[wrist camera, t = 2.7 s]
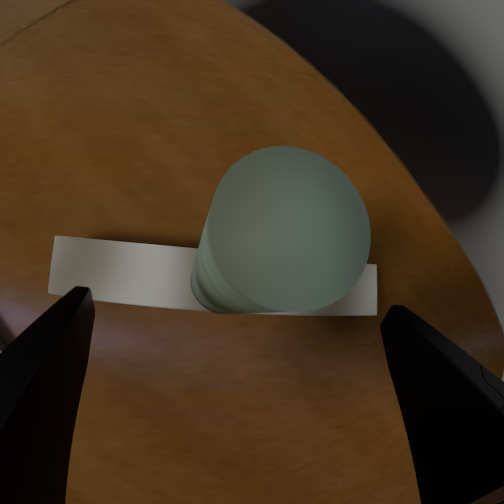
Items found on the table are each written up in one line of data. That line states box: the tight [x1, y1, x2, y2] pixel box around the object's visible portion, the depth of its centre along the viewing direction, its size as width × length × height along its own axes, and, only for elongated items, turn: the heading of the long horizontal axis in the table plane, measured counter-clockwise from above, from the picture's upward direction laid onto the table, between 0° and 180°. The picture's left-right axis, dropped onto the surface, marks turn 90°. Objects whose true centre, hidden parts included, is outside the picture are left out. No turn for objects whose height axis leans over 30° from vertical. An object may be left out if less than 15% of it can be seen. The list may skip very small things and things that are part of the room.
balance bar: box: [48, 146, 377, 316], centre depth 12 cm, size 18×3×12 cm, turn 88°
